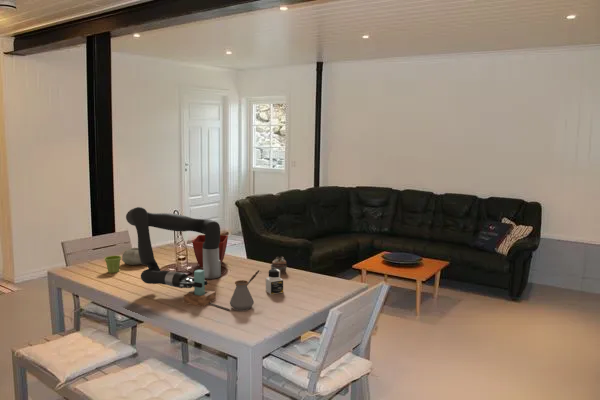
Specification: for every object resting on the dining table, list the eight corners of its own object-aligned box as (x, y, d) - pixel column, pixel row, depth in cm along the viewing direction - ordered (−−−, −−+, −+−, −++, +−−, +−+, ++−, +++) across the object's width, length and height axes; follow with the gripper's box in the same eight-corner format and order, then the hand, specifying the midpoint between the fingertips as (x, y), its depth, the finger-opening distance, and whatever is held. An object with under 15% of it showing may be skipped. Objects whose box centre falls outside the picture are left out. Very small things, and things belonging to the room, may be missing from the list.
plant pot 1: (116, 274, 288) (115, 260, 286) (101, 273, 290) (101, 259, 288) (125, 270, 297) (124, 256, 295) (110, 269, 299) (110, 255, 297)
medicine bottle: (271, 294, 254) (270, 272, 252) (265, 290, 260) (265, 268, 258) (283, 292, 257) (283, 270, 255) (277, 288, 263) (277, 267, 262)
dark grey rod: (208, 304, 240) (208, 302, 240) (210, 303, 241) (209, 302, 240) (229, 311, 231) (228, 309, 231) (230, 310, 232) (230, 308, 232)
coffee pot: (244, 314, 227) (244, 283, 225) (224, 309, 233) (224, 279, 231) (269, 300, 246) (269, 271, 244) (250, 296, 251) (250, 268, 249)
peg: (199, 296, 246) (198, 269, 244) (204, 297, 245) (204, 270, 243) (194, 298, 243) (194, 271, 241) (200, 299, 242) (200, 272, 240)
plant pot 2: (223, 268, 300) (223, 241, 298) (192, 268, 301) (191, 241, 298) (228, 260, 319) (228, 235, 317) (199, 260, 320) (198, 234, 317)
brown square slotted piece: (197, 296, 251) (197, 288, 251) (215, 299, 247) (215, 291, 246) (184, 302, 242) (184, 295, 241) (202, 306, 237) (202, 298, 236)
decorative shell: (144, 258, 323) (144, 243, 321) (157, 264, 310) (156, 248, 308) (117, 263, 311) (117, 248, 309) (129, 269, 298) (129, 253, 296)
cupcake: (284, 270, 298) (284, 254, 296) (288, 274, 289) (288, 258, 287) (268, 271, 295) (268, 255, 293) (273, 276, 286) (273, 259, 284)
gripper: (166, 276, 242) (195, 280, 235) (184, 268, 255) (212, 273, 247) (167, 290, 243) (195, 296, 236) (185, 282, 256) (212, 287, 249)
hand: (204, 284), depth 242 cm, fingers closed on peg, 3 cm apart
